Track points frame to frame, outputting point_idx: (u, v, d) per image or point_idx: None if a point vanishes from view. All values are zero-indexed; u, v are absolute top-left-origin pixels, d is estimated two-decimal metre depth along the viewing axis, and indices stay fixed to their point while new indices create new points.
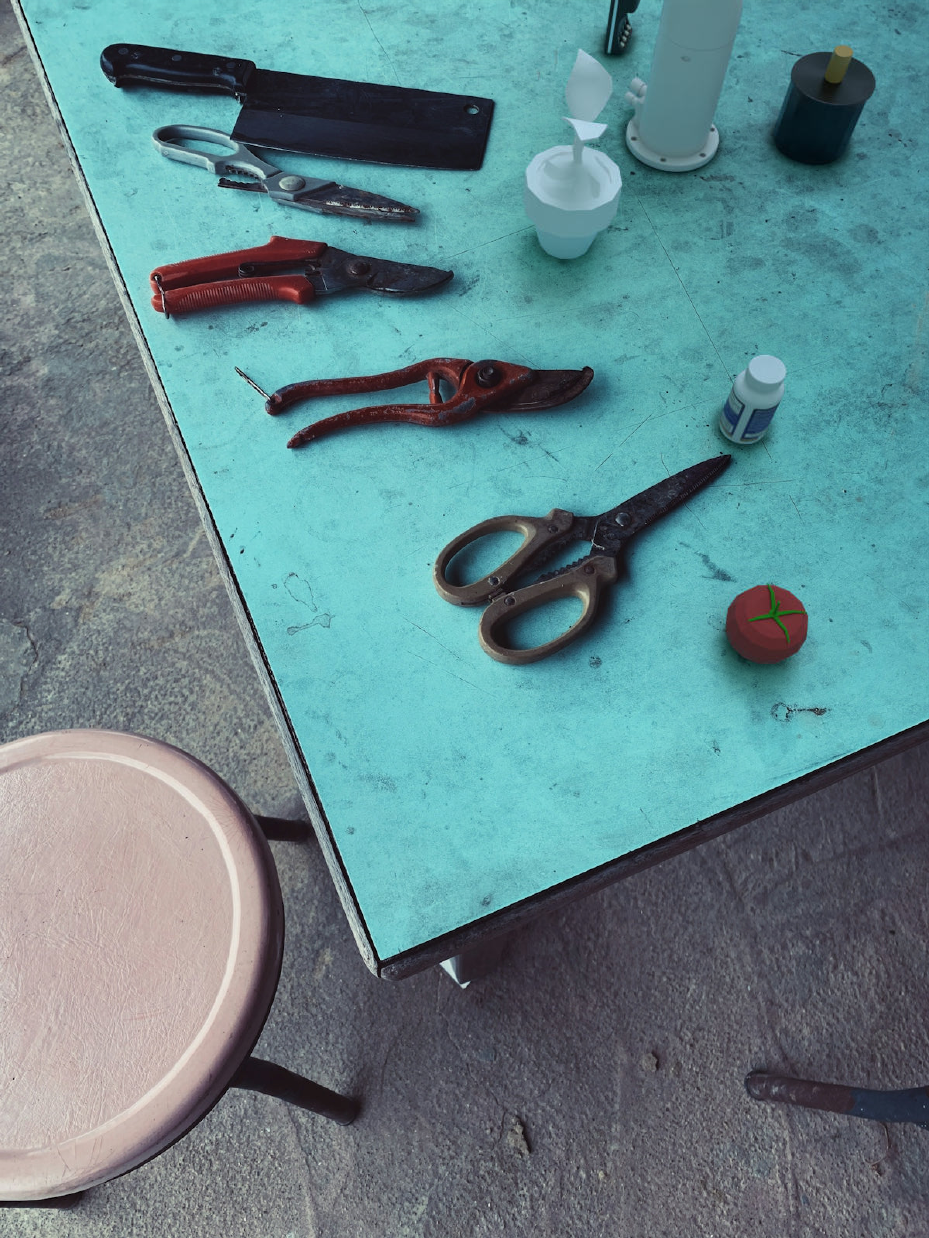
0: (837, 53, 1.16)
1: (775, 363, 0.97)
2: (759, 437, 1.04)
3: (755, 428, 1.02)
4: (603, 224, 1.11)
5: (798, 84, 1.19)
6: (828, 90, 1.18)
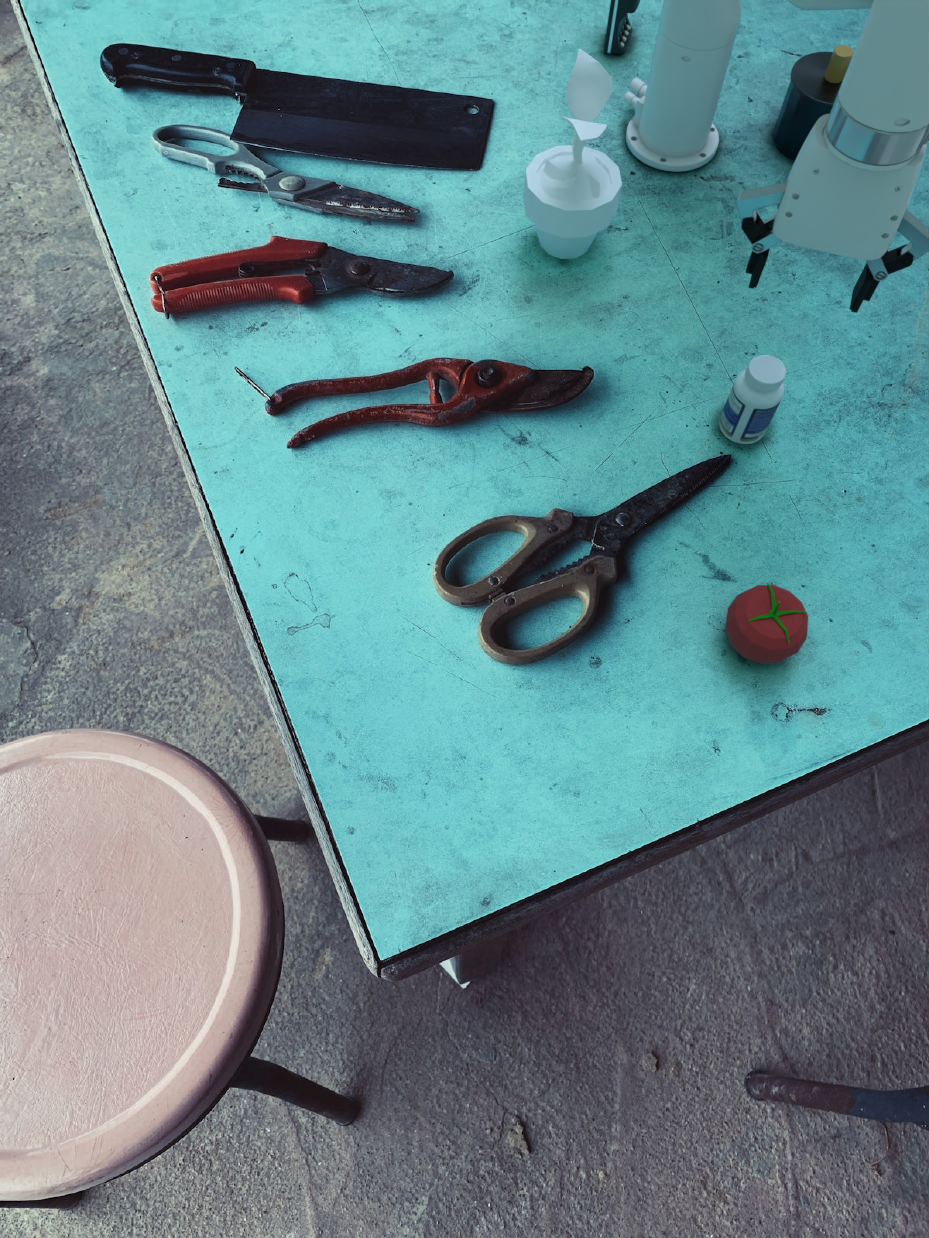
0: (837, 53, 1.16)
1: (775, 363, 0.97)
2: (759, 437, 1.04)
3: (755, 428, 1.02)
4: (603, 224, 1.11)
5: (798, 84, 1.19)
6: (828, 90, 1.18)
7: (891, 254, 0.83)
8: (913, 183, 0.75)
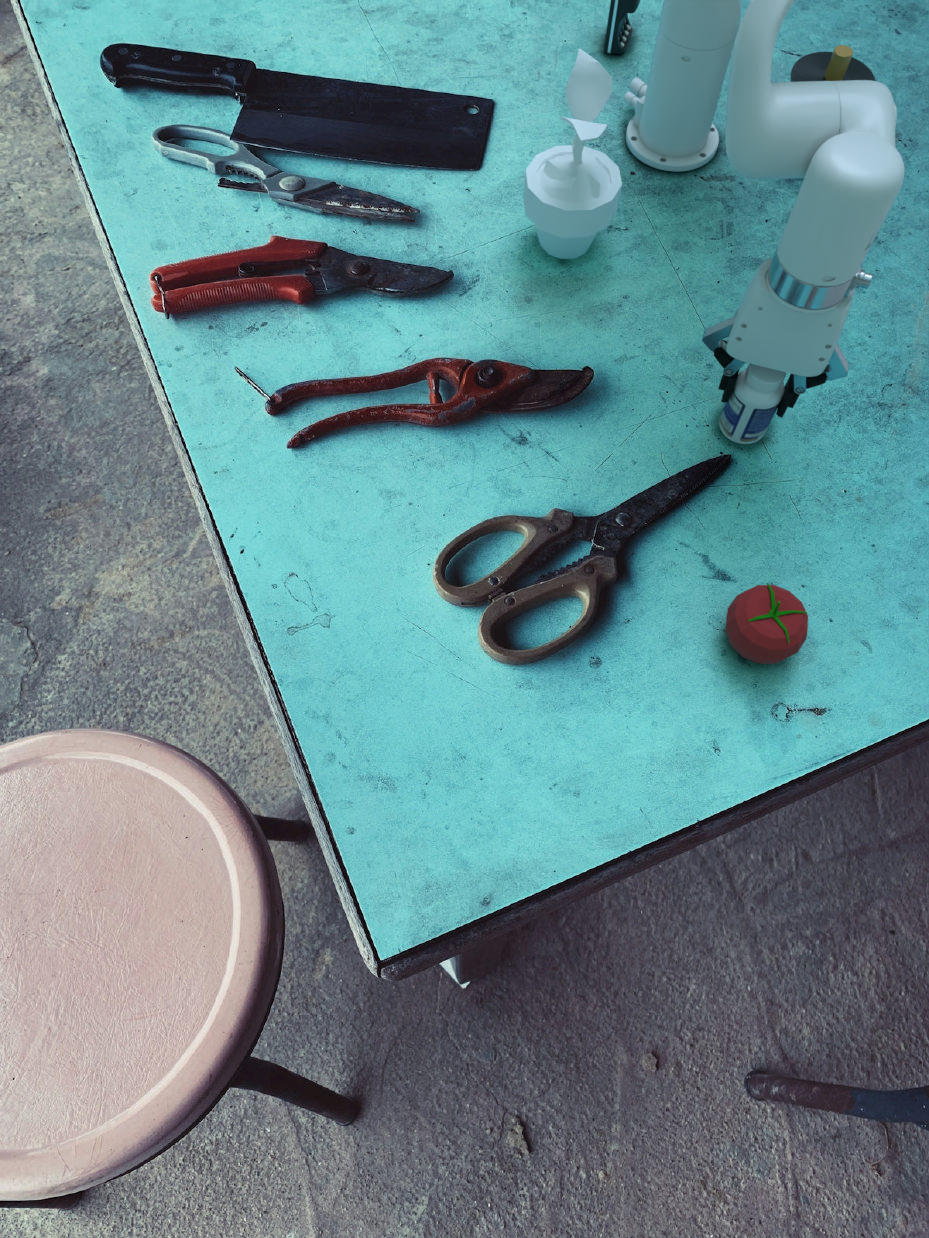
0: (837, 53, 1.16)
1: None
2: (759, 437, 1.04)
3: (755, 429, 1.02)
4: (603, 224, 1.11)
5: None
6: None
7: None
8: (843, 320, 0.87)
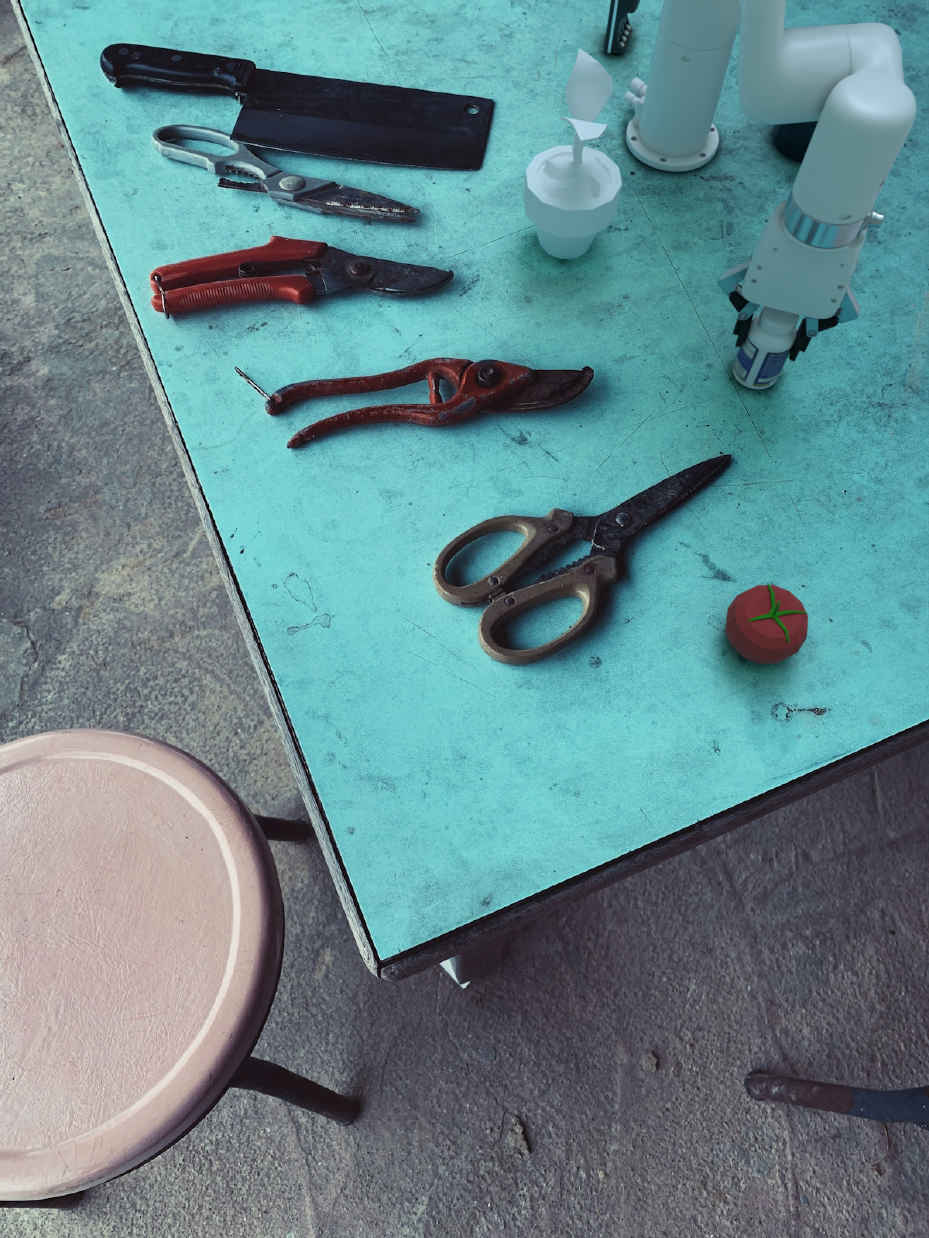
0: None
1: None
2: (772, 382, 1.07)
3: (768, 373, 1.05)
4: (603, 224, 1.11)
5: None
6: None
7: None
8: (855, 260, 0.90)
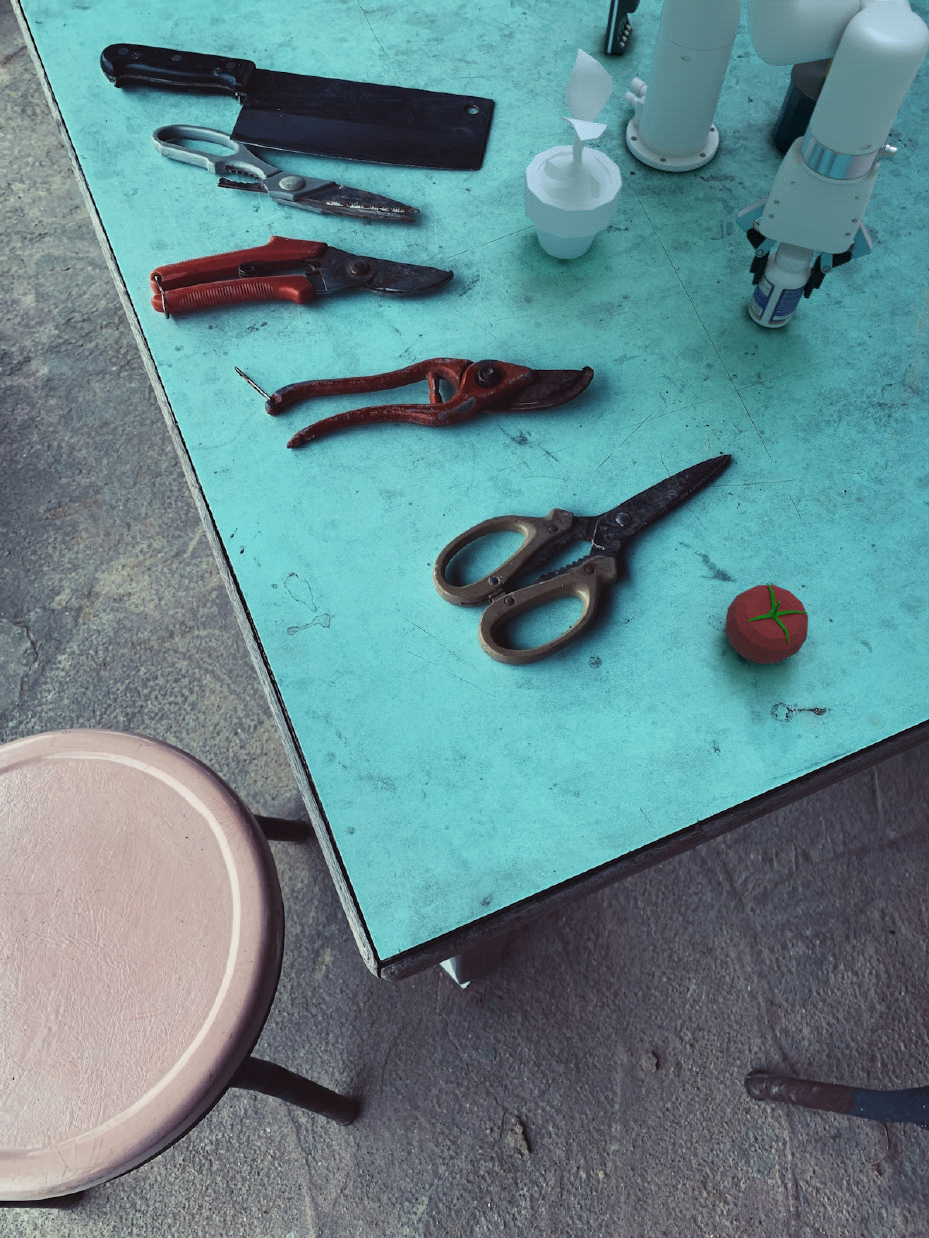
0: None
1: None
2: (786, 320, 1.11)
3: (783, 310, 1.09)
4: (603, 224, 1.11)
5: (798, 84, 1.19)
6: None
7: None
8: (869, 193, 0.94)
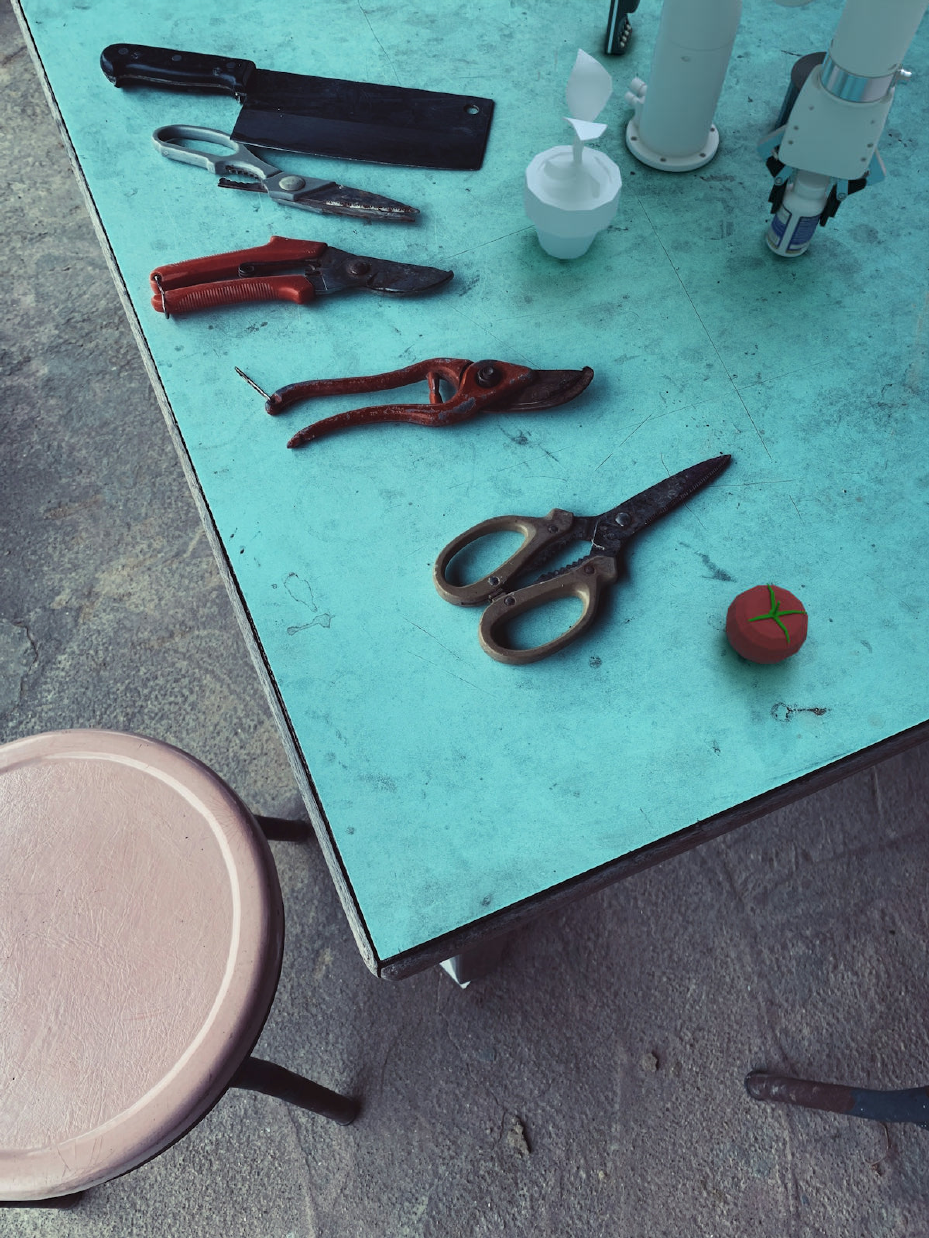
0: None
1: None
2: (802, 250, 1.17)
3: (799, 239, 1.15)
4: (603, 224, 1.11)
5: (798, 84, 1.19)
6: None
7: (849, 180, 1.09)
8: (884, 117, 0.99)
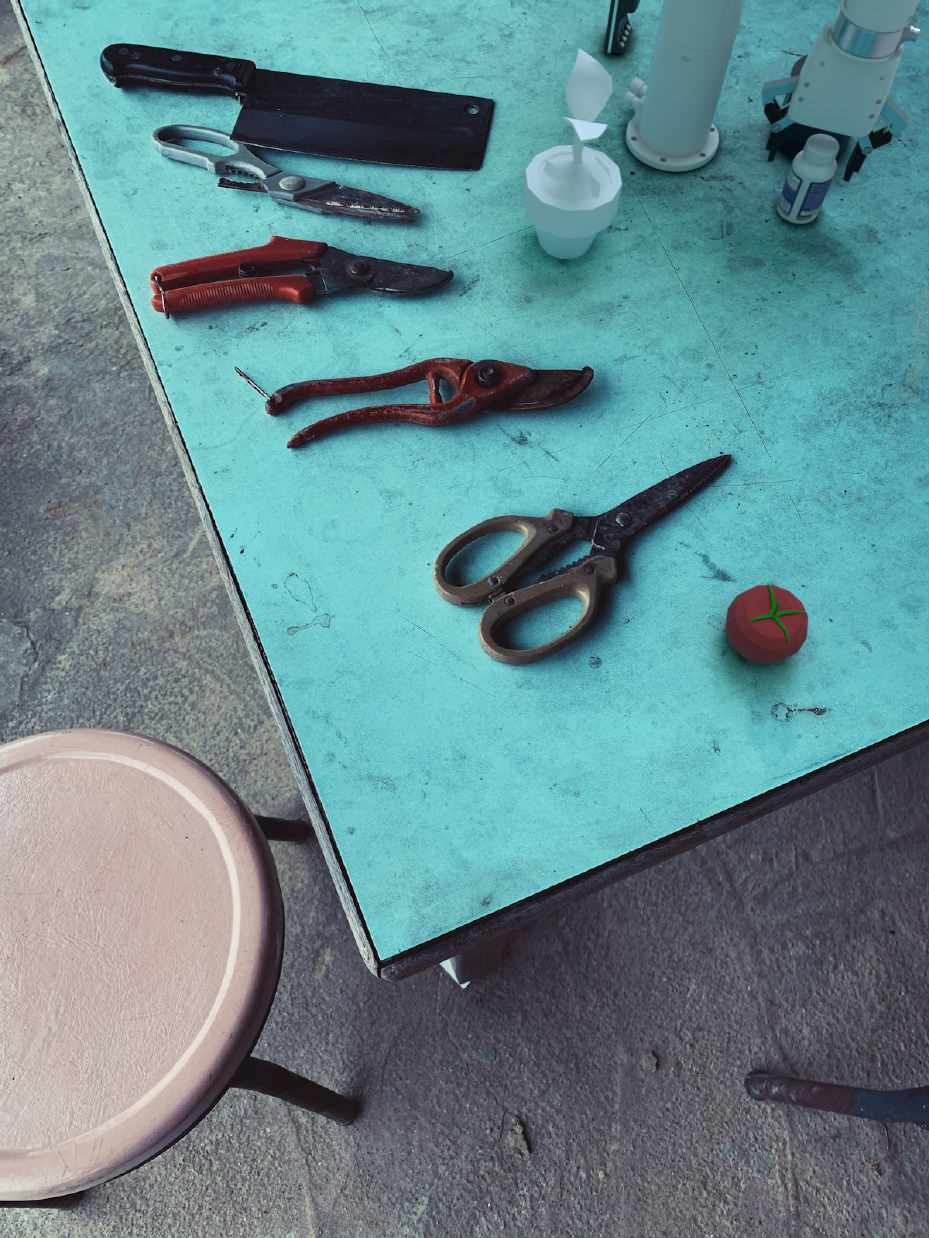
0: None
1: (829, 140, 1.13)
2: (813, 216, 1.20)
3: (810, 205, 1.18)
4: (603, 224, 1.11)
5: None
6: None
7: (875, 134, 1.10)
8: (893, 74, 1.02)
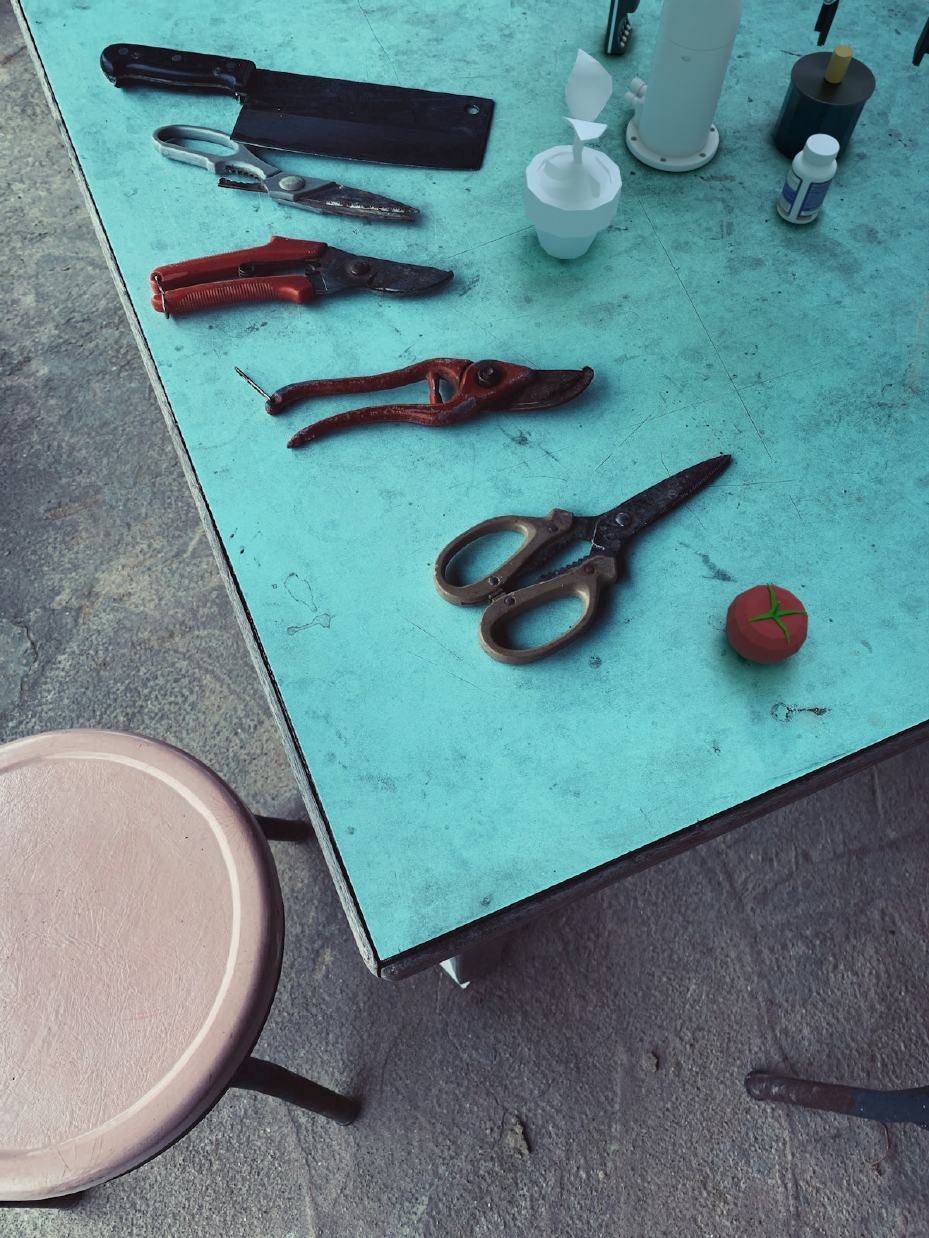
0: (837, 53, 1.16)
1: (829, 140, 1.13)
2: (813, 216, 1.20)
3: (810, 205, 1.18)
4: (603, 224, 1.11)
5: (798, 84, 1.19)
6: (828, 90, 1.18)
7: None
8: None
